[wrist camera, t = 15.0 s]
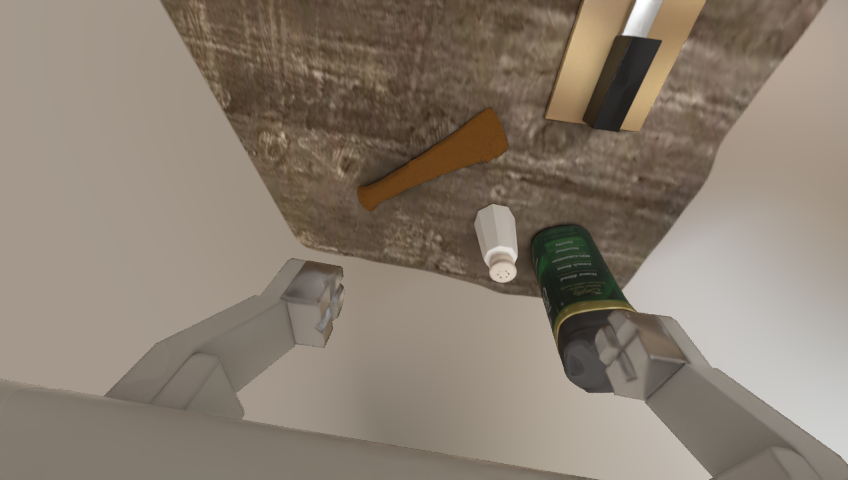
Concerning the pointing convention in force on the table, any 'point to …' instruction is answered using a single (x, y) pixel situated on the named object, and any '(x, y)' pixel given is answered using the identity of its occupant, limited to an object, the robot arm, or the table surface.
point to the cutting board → (592, 45)
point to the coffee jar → (576, 300)
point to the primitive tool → (442, 158)
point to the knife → (624, 68)
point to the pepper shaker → (497, 241)
